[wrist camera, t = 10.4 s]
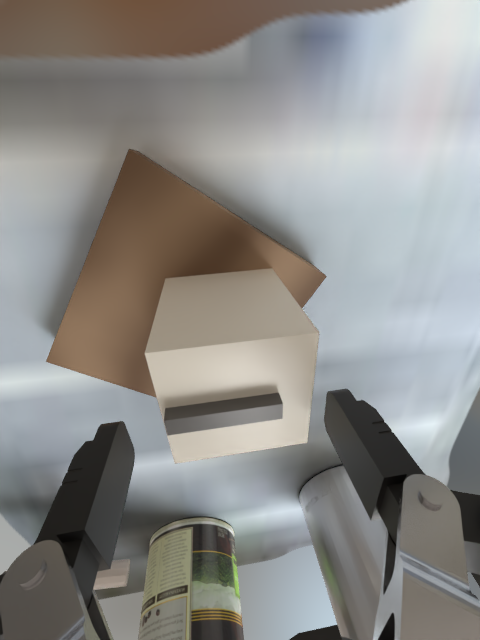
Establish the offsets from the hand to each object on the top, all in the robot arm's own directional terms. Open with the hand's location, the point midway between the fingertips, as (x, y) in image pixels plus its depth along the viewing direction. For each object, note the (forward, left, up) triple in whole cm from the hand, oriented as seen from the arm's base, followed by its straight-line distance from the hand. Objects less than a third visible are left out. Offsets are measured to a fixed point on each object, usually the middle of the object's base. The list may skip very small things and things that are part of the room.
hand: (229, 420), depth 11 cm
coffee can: (-13, +28, -9) cm, 33 cm away
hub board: (+2, 0, -9) cm, 9 cm away
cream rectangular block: (0, -1, -7) cm, 7 cm away
